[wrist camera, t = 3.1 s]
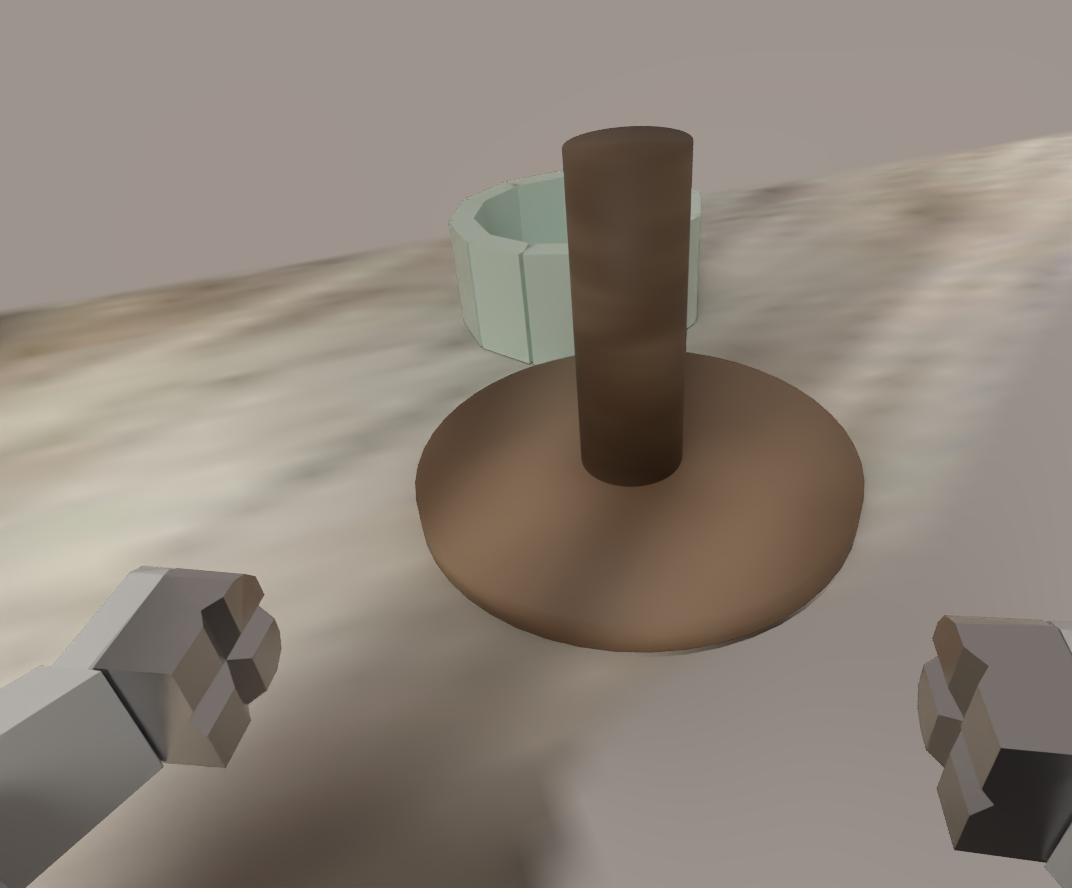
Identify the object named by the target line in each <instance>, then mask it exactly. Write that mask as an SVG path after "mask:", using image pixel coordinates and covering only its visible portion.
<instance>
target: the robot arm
mask: <svg viewBox="0 0 1072 888" xmlns="http://www.w3.org/2000/svg"><path fill="white" fill-rule="evenodd" d="M263 596H264V593H263V591H262V589H261V587H260V585H259V583H258V581H257V579H256V577H255V576H251V575H246V574H237V573H226V572H214V571H203V570H192V569H180V568H176V569H175V568H162V567H150V566H142V567H140V568H138V569H136V570H134V571H132V572H130V573H129V574H128V575H127V576H126V578H125V579H124V580H123V581H122V582H121V584H120V585H119V586H118V587H117V588H116V590H115V591H114V592H113V593H112V594H111V596H110V597H109V598H108V599H107V600H106V602H105V603H104V604H103V605H102V606H101V608H100V609H99V610H98V611H97V612H96V614H95V615H94V616H93V617H92V618H91V620H90V621H89V622H88V623H87V624H86V626H85V627H84V628H83V629H82V630H81V632H80V633H79V634H78V635H77V636H76V638H75V639H74V640H73V641H72V642H71V644H70V645H69V646H68V647H67V648H66V650H65V651H64V652H63V653H62V654H61V656H60V657H59V658H58V659H57V660H56V662H55V663H54V664H53V665H52V666H43V665H41V666H39V667H37V668H36V669H34V670H32V671H31V672H29V673H27V674H25V675H24V676H22V677H20V678H19V679H17V680H15V681H13V682H12V683H10V684H8V685H7V686H5V687H3V688H1V689H0V888H25V887H27V886H28V885H29V884H30V883H31V882H32V881H33V880H35V879H36V878H37V877H38V876H39V875H40V874H41V873H43V872H44V871H45V870H46V869H47V868H48V867H49V866H51V865H52V864H53V863H54V862H55V861H56V860H58V859H59V858H60V857H61V856H62V855H63V854H64V853H66V852H67V851H68V850H69V849H70V848H71V847H72V846H74V845H75V844H76V843H77V842H78V841H79V840H80V839H82V838H83V837H84V836H85V835H86V834H87V833H88V832H90V831H91V830H92V829H93V828H94V827H95V826H96V825H98V824H99V823H100V822H101V821H102V820H103V819H104V818H106V817H107V816H108V815H109V814H110V813H111V812H112V811H114V810H115V809H116V808H117V807H118V806H119V805H120V804H122V803H123V802H124V801H125V800H126V799H127V798H128V797H130V796H131V795H132V794H133V793H134V792H135V791H137V790H138V789H139V788H140V787H141V786H142V785H143V784H145V783H146V782H147V781H148V780H149V779H150V778H151V777H153V776H154V775H155V774H156V773H157V772H158V771H159V770H161V769H162V768H163V766H164V765H163V764H162V763H170V764H183V765H195V766H207V767H219V768H226V766H227V764H228V762H229V761H230V759H231V757H232V755H233V753H234V751H235V749H236V747H237V746H238V744H239V742H240V740H241V738H242V736H243V734H244V733H245V731H246V729H247V727H248V725H249V723H250V721H251V718H250V713H249V707H248V704H249V703H250V702H252V701H253V700H254V699H256V698H257V697H258V696H260V695H261V694H262V693H264V692H265V691H266V690H267V689H268V687H269V685H270V683H271V681H272V679H273V677H274V675H275V673H276V671H277V667H278V662H279V657H280V653H281V639H280V631H279V629H278V626H277V624H276V621H275V619H274V618H273V617H272V616H271V615H270V614H268V613H267V612H266V611H265V610H263V609H262V608H261V607H260V606H259V604H260V602H261V600H262V598H263ZM933 642H934V645H935V648H936V651H937V654H938V656H937V657H935V658H934V659H932V660H931V661H929V662H927V663H926V664H924V666H923V670H922V674H921V677H920V681H919V685H918V714H919V721H920V728H921V732H922V736H923V740H924V743H925V748H926V750H927V751H928V752H929V753H930V754H931V755H932V756H933V757H934V758H935V759H936V760H937V761H938V762H939V763H940V764H941V765H942V766H943V767H944V770H943V773H942V776H941V779H940V781H939V784H938V786H937V791H938V795H939V798H940V802H941V805H942V809H943V813H944V816H945V820H946V823H947V827H948V830H949V834H950V837H951V840H952V844H953V848H954V850H958V851H965V852H973V853H980V854H987V855H994V856H1002V857H1009V858H1017V859H1023V860H1031V861H1038V862H1046V865H1045V868H1046V869H1047V870H1048V871H1049V873H1050V874H1051V875H1052V876H1053V877H1054V878H1055V880H1056V881H1057V882H1058V883H1059V884H1060V885H1061V886H1062V888H1072V622H1061V621H1047V622H1045V621H1043V620H1030V619H1011V618H991V617H971V616H950V615H945V616H944V617H943V618H942V619H941V620H940V621H939V622H938V623H937V626H936V629H935V632H934V635H933Z"/></svg>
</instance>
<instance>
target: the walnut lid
mask: <svg viewBox="0 0 1072 888" xmlns="http://www.w3.org/2000/svg"><path fill="white" fill-rule="evenodd" d="M562 156H563V172H564V188H565V204H566V221H567V237H568V253H569V269H570V285H571V301H572V317H573V334H574V350H575V356H570V357H565V358H561V359H557V360H552V361H549V362H545V363H542V364H539V365H535V366H532V367H529V368H527V369H524V370H521V371H519V372H516V373H514V374H511V375H509V376H507V377H505V378H503V379H501V380H498V381H496V382H494V383H492V384H490V385H489V386H487V387H485V388H484V389H482V390H480V391H479V392H477V393H475V394H474V395H473V396H471V397H470V398H469V399H467V400H466V401H464V402H463V403H462V404H460V405H459V406H458V407H457V408H456V409H455V410H454V411H453V412H452V413H451V414H449V415H448V416H447V417H446V418H445V419H444V420H443V422H442V423H441V424H440V425H439V427H438V428H437V429H436V430H435V432H434V433H433V434H432V436H431V438H430V440H429V441H428V443H427V445H426V446H425V448H424V450H423V453H422V456H421V459H420V461H419V464H418V469H417V475H416V481H415V486H416V501H417V506H418V510H419V514H420V519H421V523H422V527H423V531H424V535H425V538H426V542H427V545H428V547H429V549H430V551H431V553H432V556H433V558H434V560H435V562H436V564H437V565H438V566H439V568H440V569H441V570H442V572H443V573H444V574H445V576H446V577H447V578H448V580H449V581H450V582H451V583H452V584H453V585H454V586H455V587H456V588H457V589H458V590H459V591H460V592H462V593H463V594H464V595H465V596H466V597H467V598H468V599H469V600H471V601H472V602H474V603H475V604H476V605H478V606H479V607H481V608H482V609H484V610H485V611H486V612H488V613H489V614H491V615H493V616H495V617H497V618H499V619H501V620H502V621H504V622H506V623H508V624H510V625H512V626H514V627H516V628H519V629H521V630H524V631H527V632H529V633H532V634H535V635H538V636H540V637H543V638H546V639H549V640H553V641H557V642H562V643H566V644H570V645H574V646H578V647H584V648H592V649H599V650H607V651H616V652H661V651H674V650H686V649H691V648H697V647H700V648H698V649H697V650H695V651H694V652H693V653H697V652H702V651H707V650H712V649H717V648H722V647H725V646H728V645H731V644H734V643H738V642H741V641H744V640H747V639H750V638H753V637H755V636H757V635H760V634H762V633H764V632H766V631H768V630H770V629H773V628H775V627H777V626H779V625H781V624H783V623H784V622H786V621H787V620H789V619H791V618H792V617H794V616H795V615H797V614H798V613H800V612H802V611H803V610H805V609H806V608H807V607H808V606H809V605H811V604H809V605H806V604H807V603H808V602H809V601H810V600H811V599H813V598H814V597H815V596H816V595H817V594H818V593H819V592H821V591H822V590H823V589H824V588H825V587H826V586H827V585H828V584H829V582H830V581H831V580H832V579H833V578H834V576H835V575H836V574H837V573H838V571H839V570H840V569H841V568H842V566H843V564H844V562H845V560H846V558H847V556H848V554H849V552H850V550H851V549H852V545H853V542H854V538H855V535H856V531H857V527H858V523H859V518H860V514H861V509H862V504H863V499H864V476H863V470H862V465H861V461H860V458H859V456H858V453H857V451H856V449H855V446H854V444H853V442H852V441H851V439H850V438H849V436H848V435H847V433H846V432H845V430H844V428H843V427H842V426H841V425H840V424H839V423H838V422H837V421H836V419H835V418H834V417H833V416H832V415H831V414H830V413H829V412H828V411H827V410H826V409H824V408H823V407H822V406H821V405H820V404H818V403H817V402H816V401H815V400H814V399H812V398H811V397H809V396H808V395H806V394H805V393H803V392H802V391H800V390H799V389H797V388H795V387H793V386H792V385H790V384H788V383H786V382H784V381H782V380H780V379H778V378H776V377H774V376H771V375H769V374H767V373H764V372H762V371H759V370H757V369H754V368H751V367H748V366H745V365H742V364H739V363H736V362H732V361H728V360H724V359H720V358H716V357H711V356H705V355H699V354H694V353H687V352H686V332H687V304H688V275H689V247H690V219H691V191H692V161H693V138H692V137H691V135H689V134H688V133H686V132H683V131H680V130H676V129H671V128H665V127H652V126H651V127H650V126H630V127H618V128H609V129H603V130H598V131H593V132H589V133H585V134H582V135H579V136H576V137H574V138H572V139H570V140H568V141H567V142H566V143H564V145H563V147H562ZM804 605H806V606H804ZM802 606H803V607H802Z"/></svg>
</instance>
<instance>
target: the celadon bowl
mask: <svg viewBox="0 0 1072 888" xmlns="http://www.w3.org/2000/svg"><path fill="white" fill-rule="evenodd" d="M700 224H701V197H700V193H699V191H698V190H696V189H694V188H692V191H691V219H690V247H689V275H688V304H687V328H689V327H690V326H691V325H692V324H694V323H695V321H696V315H697V293H698V270H699V247H700ZM449 228H450V235H451V241H452V248H453V254H454V261H455V267H456V274H457V280H458V287H459V293H460V300H461V306H462V313H463V319H464V323H465V325H466V326H467V328H468V329H469V330H470V332H471V333H472V335H473V336H474V338H475V339H476V340H477V342H478V343H479V345H480V346H483V348H484V349H487V350H490V351H493V352H496V353H499V354H502V355H505V356H508V357H511V358H514V359H517V360H520V361H523V362H525V363H528V364H530V363H532V362H533V364H534V365H539V364H542V363H545V362H549V361H552V360H557V359H561V358H565V357H570V356H575V350H574V334H573V317H572V301H571V285H570V269H569V253H568V237H567V221H566V204H565V188H564V172H563V171H561V172H560V173H559V172H558V171H555V172H550V173H546V174H541V175H535V176H530V177H525V178H520V179H515V180H510V181H507V183H506V182H502V183H500V184H498V185H495V186H493V187H491V188H489V189H486V190H484V191H482V192H479V193H477V194H475V195H473V196H470V197H468V198H466V199H465V200H463V201H462V202H461V204H460V205H459V207H458V208H457V209H456V211H455V212H454V214H453V215H452V216H451V218H450V219H449Z"/></svg>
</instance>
